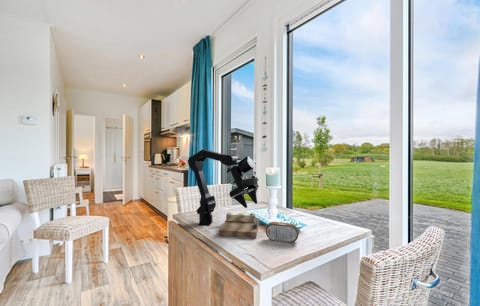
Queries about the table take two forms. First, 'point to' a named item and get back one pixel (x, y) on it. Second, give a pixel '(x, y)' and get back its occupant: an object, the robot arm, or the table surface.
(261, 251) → the table surface
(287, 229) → the retro speaker
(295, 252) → the table surface
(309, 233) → the table surface
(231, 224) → the stool seat
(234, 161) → the robot arm
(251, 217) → the stool leg
